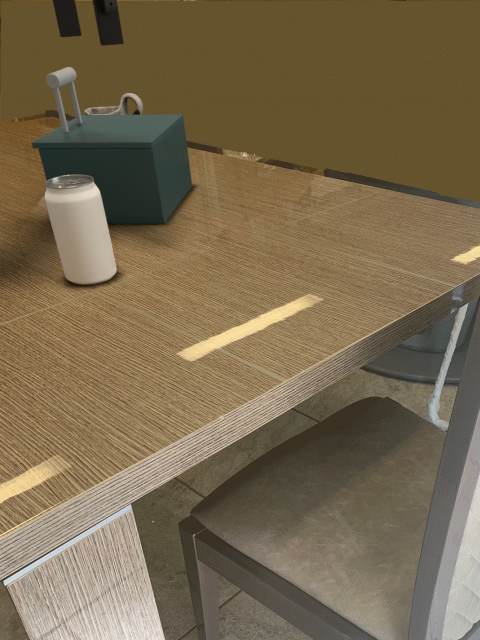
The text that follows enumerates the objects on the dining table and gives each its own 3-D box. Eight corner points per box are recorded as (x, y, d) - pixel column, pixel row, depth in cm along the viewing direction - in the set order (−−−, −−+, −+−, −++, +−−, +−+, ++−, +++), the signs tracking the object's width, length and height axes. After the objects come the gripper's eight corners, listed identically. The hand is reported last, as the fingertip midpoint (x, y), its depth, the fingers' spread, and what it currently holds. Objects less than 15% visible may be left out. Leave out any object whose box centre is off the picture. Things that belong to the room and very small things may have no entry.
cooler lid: (32, 148, 94) (14, 81, 88) (81, 120, 110) (68, 61, 104) (152, 148, 93) (141, 79, 87) (183, 119, 109) (176, 60, 103)
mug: (94, 139, 146) (84, 90, 140) (150, 136, 148) (142, 88, 142) (88, 149, 139) (77, 98, 133) (147, 146, 140) (139, 95, 134)
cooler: (57, 223, 100) (38, 148, 94) (100, 186, 116) (85, 120, 110) (164, 223, 99) (152, 148, 93) (192, 186, 115) (183, 119, 109)
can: (58, 275, 84) (32, 180, 77) (104, 262, 87) (84, 170, 80) (78, 290, 80) (53, 192, 73) (126, 276, 83) (106, 181, 76)
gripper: (128, -198, 65) (161, 45, 77) (42, -166, 81) (81, 31, 93) (54, -206, 61) (101, 51, 74) (-20, -172, 77) (29, 35, 89)
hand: (90, 40), depth 83 cm, fingers open, 13 cm apart
